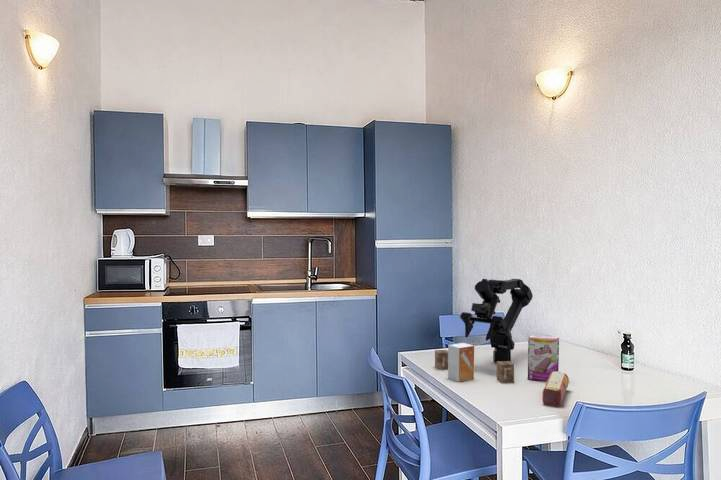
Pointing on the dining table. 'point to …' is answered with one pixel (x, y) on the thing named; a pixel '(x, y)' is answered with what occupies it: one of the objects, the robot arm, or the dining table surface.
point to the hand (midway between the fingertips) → (476, 338)
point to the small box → (460, 362)
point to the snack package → (555, 389)
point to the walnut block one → (441, 359)
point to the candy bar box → (542, 357)
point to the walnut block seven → (505, 372)
